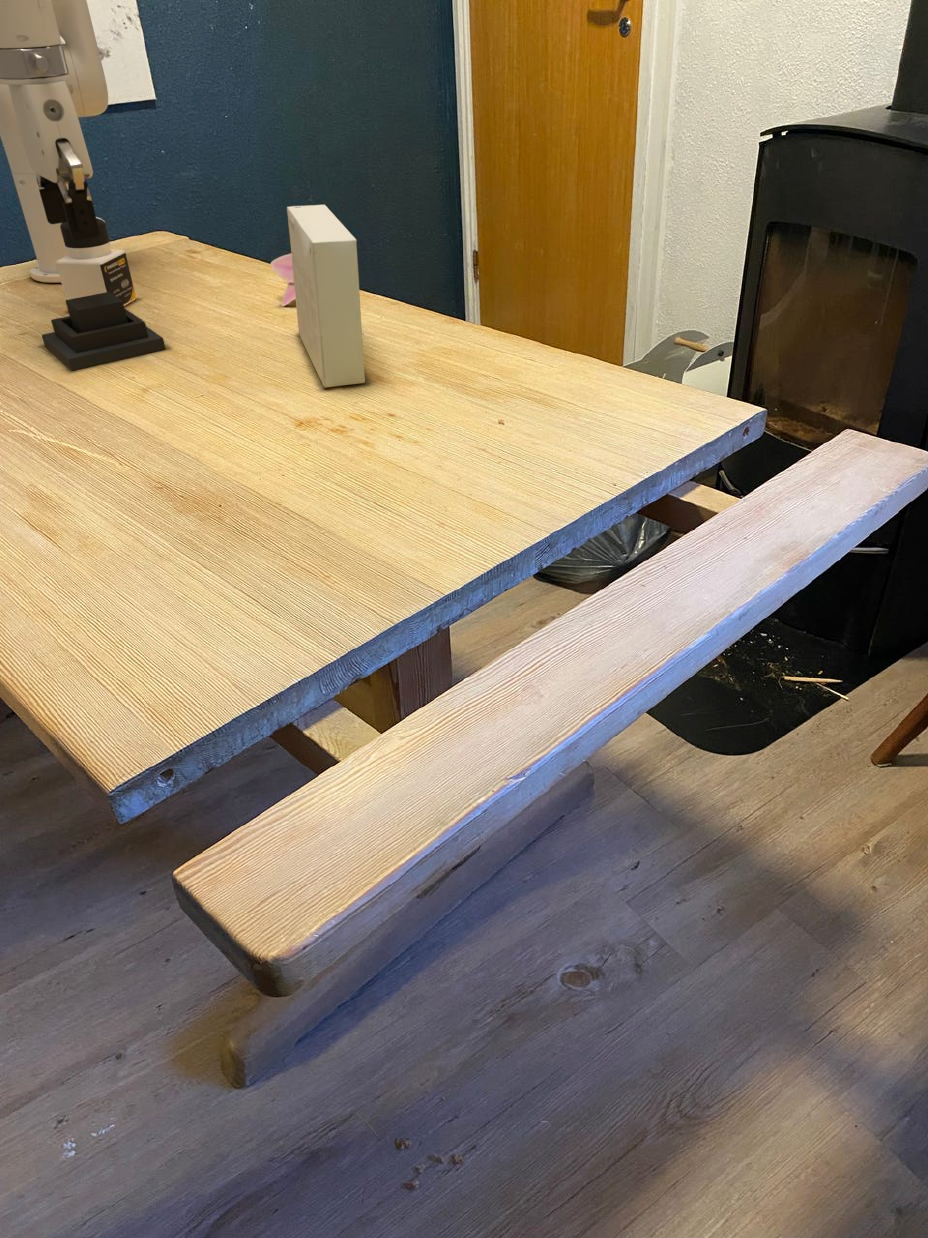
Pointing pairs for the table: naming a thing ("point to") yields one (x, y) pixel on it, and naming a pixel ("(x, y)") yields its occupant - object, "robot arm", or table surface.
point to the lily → (285, 276)
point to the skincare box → (327, 294)
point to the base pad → (101, 342)
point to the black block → (96, 312)
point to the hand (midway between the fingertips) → (73, 229)
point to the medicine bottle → (94, 267)
